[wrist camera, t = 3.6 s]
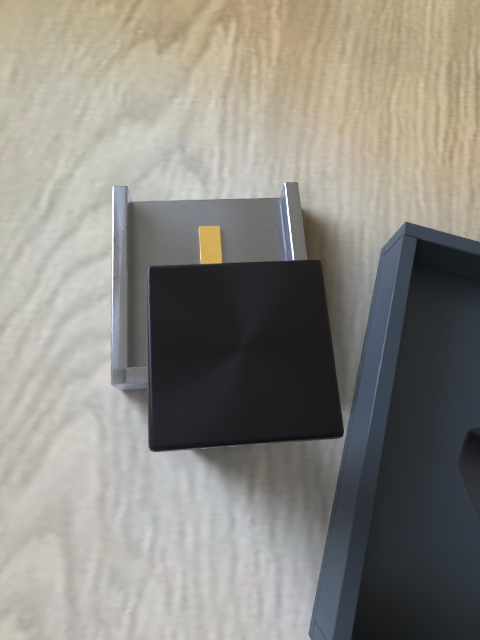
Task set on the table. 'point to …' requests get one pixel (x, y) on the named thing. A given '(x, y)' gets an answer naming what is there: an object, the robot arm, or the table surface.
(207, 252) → the spoon
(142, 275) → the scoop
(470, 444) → the robot arm
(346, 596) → the tray
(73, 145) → the table surface
